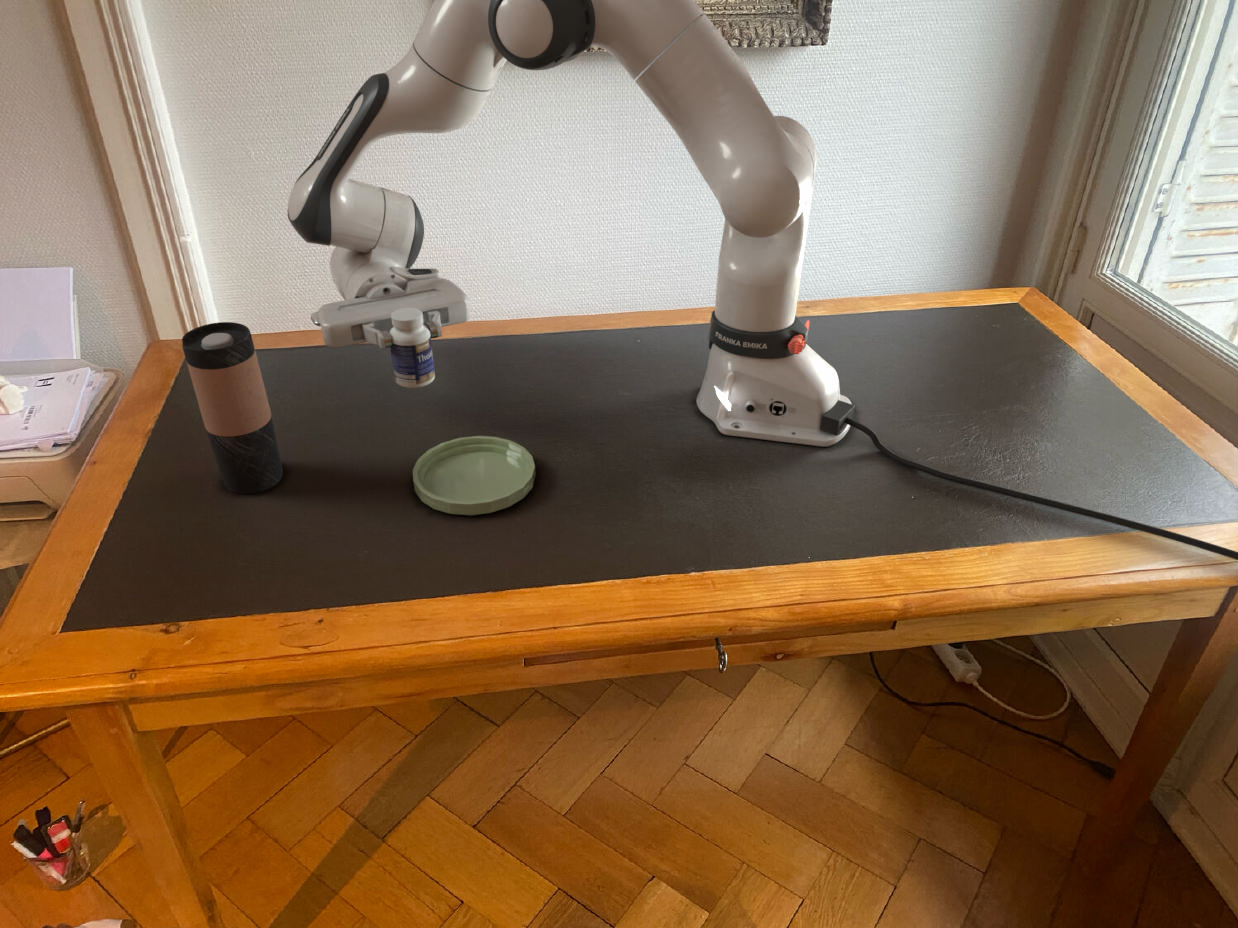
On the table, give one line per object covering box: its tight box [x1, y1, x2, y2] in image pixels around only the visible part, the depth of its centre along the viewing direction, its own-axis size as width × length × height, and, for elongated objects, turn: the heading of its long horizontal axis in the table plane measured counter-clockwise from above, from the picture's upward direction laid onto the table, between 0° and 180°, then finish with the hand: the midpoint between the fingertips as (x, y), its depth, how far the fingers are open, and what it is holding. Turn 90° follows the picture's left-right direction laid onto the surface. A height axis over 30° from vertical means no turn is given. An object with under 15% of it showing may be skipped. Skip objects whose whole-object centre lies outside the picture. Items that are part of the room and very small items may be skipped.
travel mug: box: [181, 321, 284, 495], centre depth 107 cm, size 8×8×20 cm
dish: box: [412, 435, 537, 516], centre depth 112 cm, size 15×15×2 cm
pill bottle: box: [389, 308, 436, 389], centre depth 118 cm, size 5×5×10 cm
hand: (412, 337), depth 116 cm, fingers closed on pill bottle, 5 cm apart
